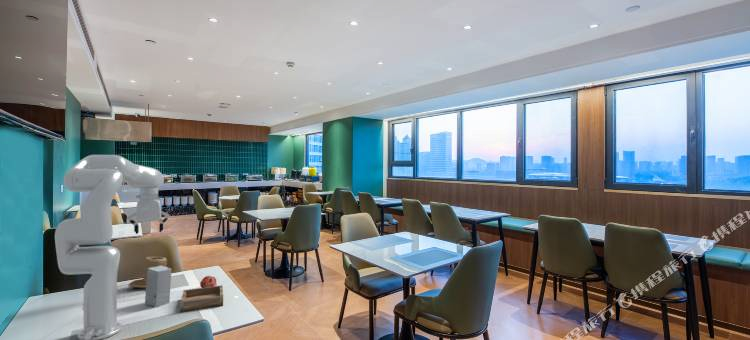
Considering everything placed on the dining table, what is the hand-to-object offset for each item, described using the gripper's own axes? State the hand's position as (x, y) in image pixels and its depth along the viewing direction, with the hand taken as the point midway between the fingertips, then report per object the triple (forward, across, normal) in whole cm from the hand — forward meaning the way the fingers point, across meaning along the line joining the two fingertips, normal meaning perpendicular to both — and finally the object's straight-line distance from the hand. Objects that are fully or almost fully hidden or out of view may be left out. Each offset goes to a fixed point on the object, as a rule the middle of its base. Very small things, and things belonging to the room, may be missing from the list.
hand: (149, 232), depth 167 cm
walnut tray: (+29, +23, -26) cm, 45 cm away
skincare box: (+29, +6, -18) cm, 35 cm away
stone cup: (+29, 0, +10) cm, 31 cm away
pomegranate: (+29, +26, -10) cm, 40 cm away
